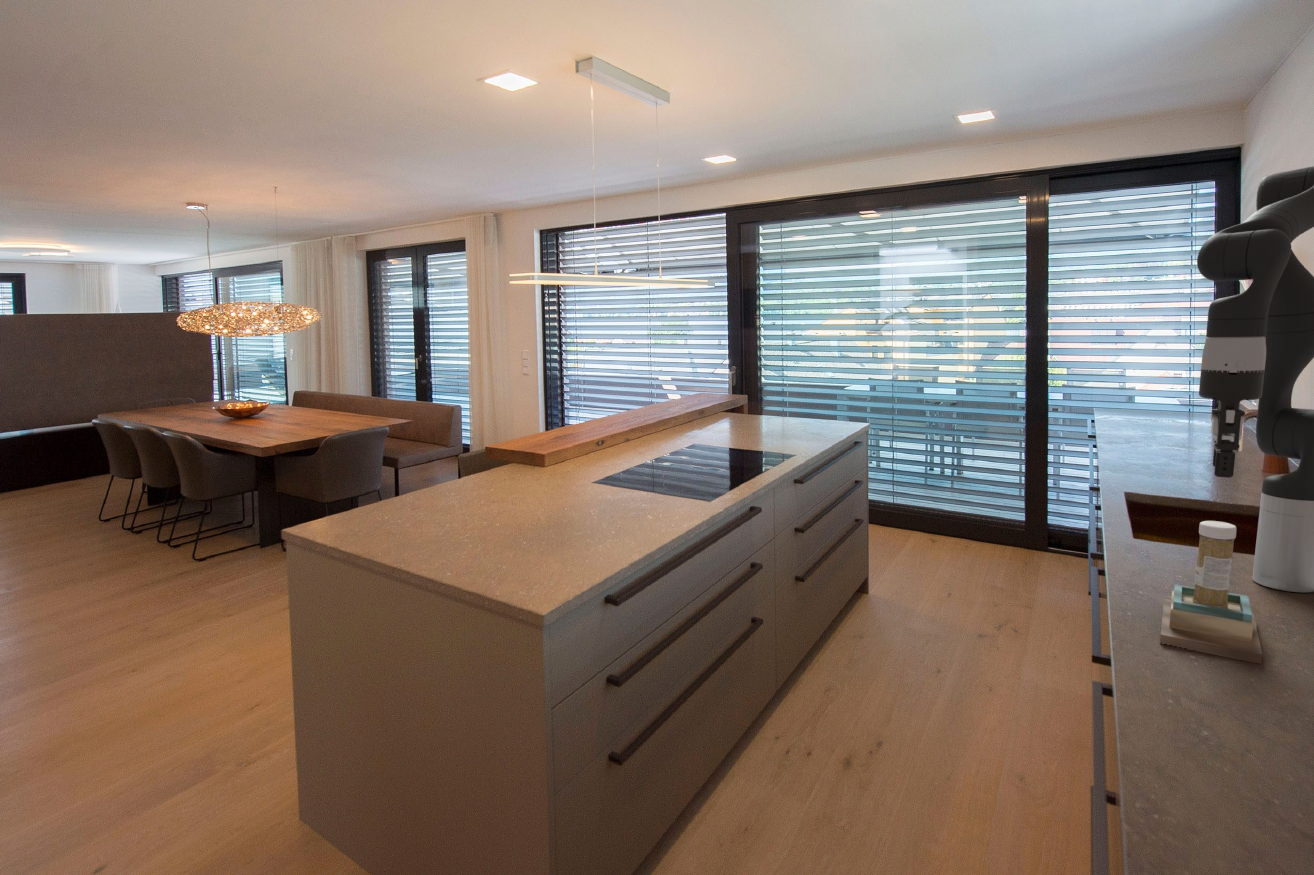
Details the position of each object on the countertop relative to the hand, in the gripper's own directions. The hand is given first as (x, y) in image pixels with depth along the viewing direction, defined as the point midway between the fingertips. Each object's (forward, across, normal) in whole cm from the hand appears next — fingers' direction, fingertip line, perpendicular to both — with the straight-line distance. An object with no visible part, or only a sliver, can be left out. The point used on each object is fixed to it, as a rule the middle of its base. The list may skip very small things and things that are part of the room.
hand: (1222, 471), depth 110 cm
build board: (+26, 0, 0) cm, 26 cm away
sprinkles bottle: (+22, 0, 0) cm, 22 cm away
